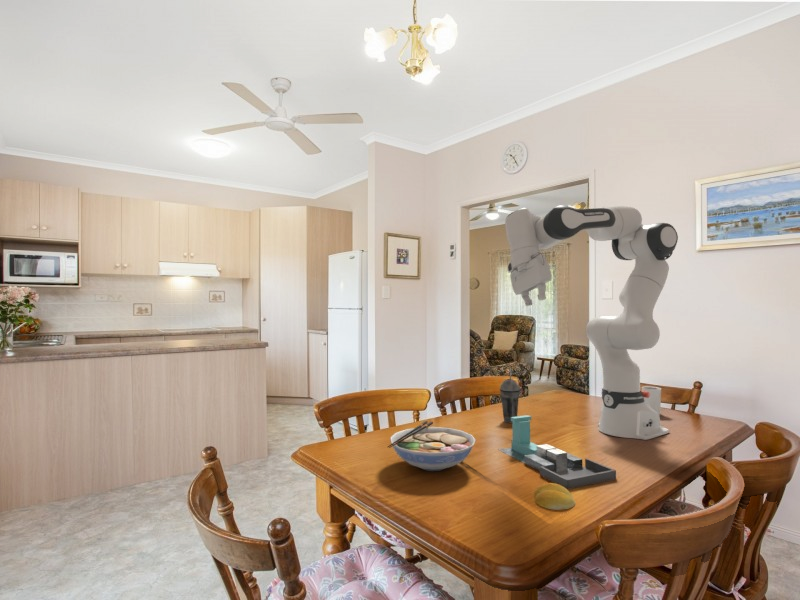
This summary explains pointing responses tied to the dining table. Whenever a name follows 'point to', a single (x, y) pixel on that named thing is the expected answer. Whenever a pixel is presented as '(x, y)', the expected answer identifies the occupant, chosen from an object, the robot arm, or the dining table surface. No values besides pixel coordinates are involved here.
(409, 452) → the ramen bowl
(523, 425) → the rake tool
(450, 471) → the dining table surface
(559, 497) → the bread roll
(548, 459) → the chip
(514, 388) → the beverage cup
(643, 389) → the drinking glass
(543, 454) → the beige cube
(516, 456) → the slot board
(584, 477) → the tray
